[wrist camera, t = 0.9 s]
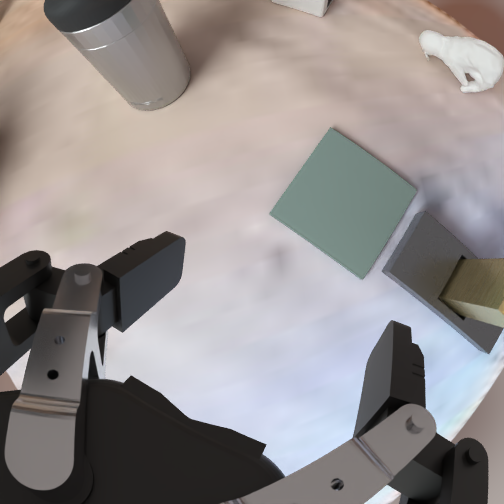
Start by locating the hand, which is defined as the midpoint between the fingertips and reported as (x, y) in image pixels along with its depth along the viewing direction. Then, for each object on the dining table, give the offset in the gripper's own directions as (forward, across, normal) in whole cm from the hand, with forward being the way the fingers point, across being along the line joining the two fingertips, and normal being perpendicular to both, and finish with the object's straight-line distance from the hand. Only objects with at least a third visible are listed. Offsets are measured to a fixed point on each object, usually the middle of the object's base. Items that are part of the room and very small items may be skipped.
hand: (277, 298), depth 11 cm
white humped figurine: (+39, -10, -19) cm, 44 cm away
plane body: (+25, -16, +8) cm, 31 cm away
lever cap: (+25, -16, +8) cm, 31 cm away
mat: (+25, -1, +3) cm, 25 cm away
